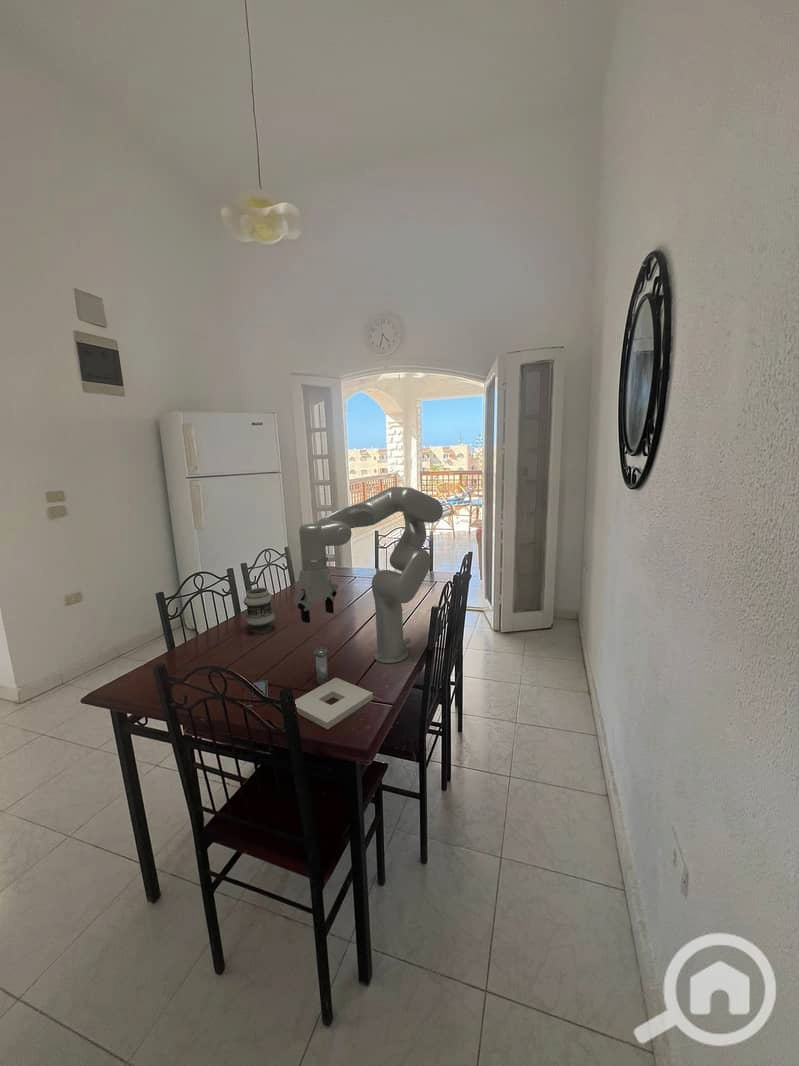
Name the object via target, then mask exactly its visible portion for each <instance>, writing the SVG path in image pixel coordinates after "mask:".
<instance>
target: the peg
mask: <svg viewBox="0 0 799 1066" xmlns="http://www.w3.org/2000/svg"><path fill="white" fill-rule="evenodd" d="M312 652H313V656H315V668H316V669H315V670H316V680H317V681H316V682H317V685H320V686H321V685H323V684H325V683H327V682H328V681H329V671H328V670H329V669H328V657H327V656H328V654H329V648H328V647H327V646H318V647H317V646H316V647H315V648H314V649H313V651H312Z"/></svg>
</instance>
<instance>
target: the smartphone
mask: <svg viewBox="0 0 799 1066" xmlns="http://www.w3.org/2000/svg"><path fill="white" fill-rule="evenodd" d="M250 683H253V684H254V685H256V686H257V687H258V688H259V689H260V690H261V691H263V693H264V694H265V695H266V696H268V697H269V695H268V680H266V679H263V680H257V681H252V682H250ZM254 697H255V696H254ZM254 700H255V699H254ZM248 706H249V707H251V708H254V707H253V706H251V705H248Z"/></svg>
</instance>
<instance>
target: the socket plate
mask: <svg viewBox="0 0 799 1066" xmlns="http://www.w3.org/2000/svg"><path fill="white" fill-rule="evenodd" d="M333 698H334V699H336V700H338V701H336V702H335V703H333V704H330V703H327V701H328V700H330V699H333ZM294 700H295V704H296V708H297V712H298V714H297V715H300V716H302V717H303V718H305V719H307V720H309V721H311V722H313V723H314V724H316V725H318V726H320V727H323V728H324V729H325V730H330V729H331V728H332V727H334V726H335V725H337V724H338V723H340V722H341V721H343V720H345V718H347V717H349V716H350V715H352V714H354V713H355V712H357V711H358V710H359V709H361V708H362V707H363V706H365V705H367V704H368V703H369V702H371V701H373V700H374V692H372V691H369V690H367V689H364V688H362V687H359V686H357V685H355V684H352V683H350V682H348V681H346V680H343V679H340V678H338V677H334V678H331V680H328V682H327V683H325V684H323V685H320V686H318V687H316V688H314V689H313V690H311V691H308V692H307V693H305V694H303V695H302V696H300V697H298V698H296V699H294Z"/></svg>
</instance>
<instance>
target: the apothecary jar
mask: <svg viewBox="0 0 799 1066" xmlns="http://www.w3.org/2000/svg"><path fill="white" fill-rule="evenodd" d="M273 597H274V596H273V594H272V593H270V592H269V590H268V588H267V587H257V588H252V589H250V590H247V591H246V596H245V597H244V598H243V605H245V606H246V608H247V609H246V610H247V614H246V617H245V619H244V621H245V623H246V624H247V626H249V627H252V628H251V629H249V632H250V633H249V634H250V635H253V636H262V635H261V634H264V635H267V634H266V633H268V634H270V633H271V632H270V631H272V630H273V631H274V626H271V625H270V624H272V623H273V622H274V621H275V619H276V614H275V612H273V610H272V604H271V603H272V602H273V600H274V598H273ZM273 631H272V632H273ZM269 632H270V633H269Z"/></svg>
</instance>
